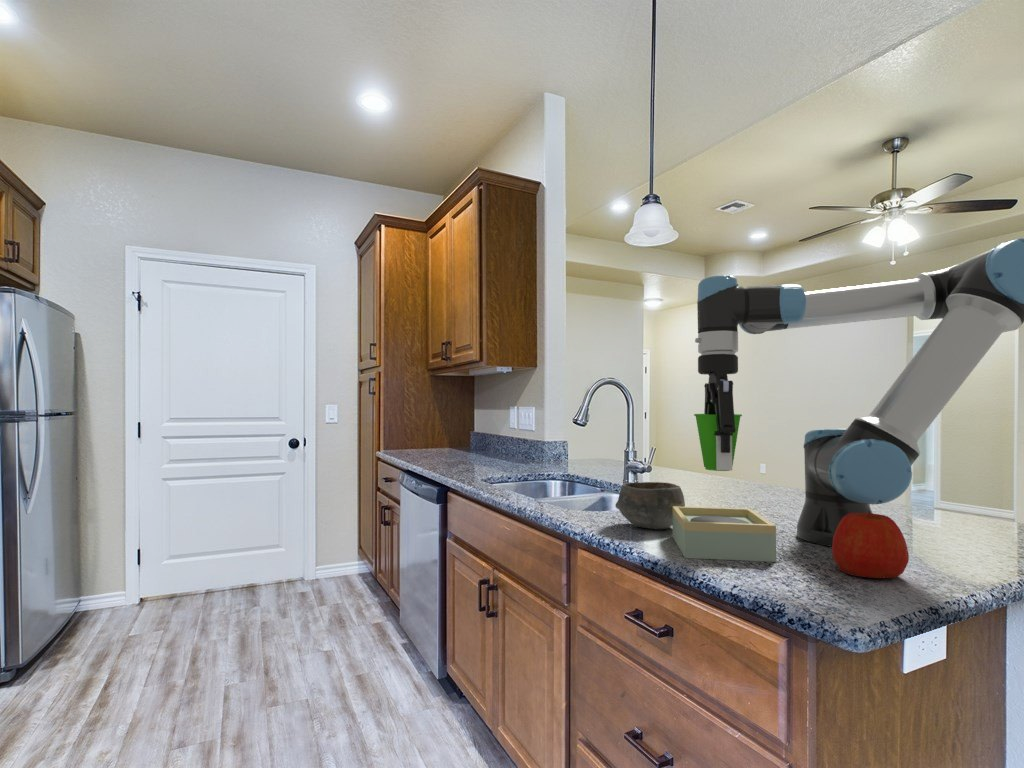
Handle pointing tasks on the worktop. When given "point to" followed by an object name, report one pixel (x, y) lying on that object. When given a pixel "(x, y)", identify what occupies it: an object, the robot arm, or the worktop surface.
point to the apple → (869, 546)
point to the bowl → (649, 503)
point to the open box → (724, 534)
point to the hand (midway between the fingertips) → (718, 466)
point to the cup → (712, 438)
